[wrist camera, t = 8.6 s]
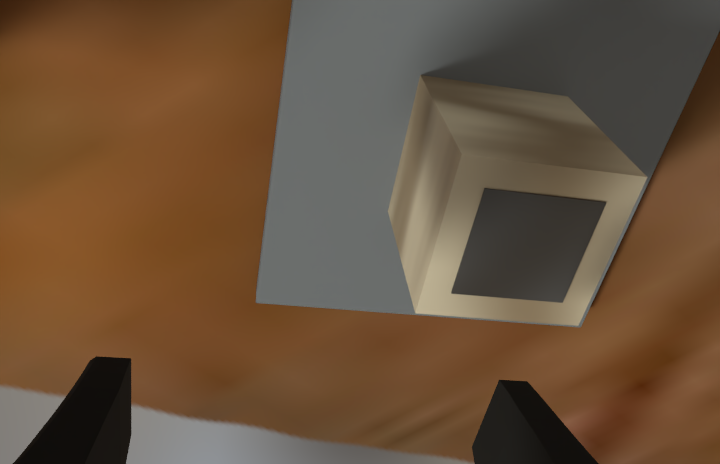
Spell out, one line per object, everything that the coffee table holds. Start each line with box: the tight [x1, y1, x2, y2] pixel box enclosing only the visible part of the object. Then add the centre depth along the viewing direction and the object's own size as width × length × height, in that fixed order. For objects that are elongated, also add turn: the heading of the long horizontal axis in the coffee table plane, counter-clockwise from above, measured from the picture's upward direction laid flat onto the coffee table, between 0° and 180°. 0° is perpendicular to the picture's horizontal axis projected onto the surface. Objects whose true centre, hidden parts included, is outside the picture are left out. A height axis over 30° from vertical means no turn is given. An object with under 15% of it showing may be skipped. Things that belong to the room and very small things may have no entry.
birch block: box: [388, 75, 647, 326], centre depth 18 cm, size 4×4×5 cm
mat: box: [256, 0, 720, 327], centre depth 21 cm, size 12×12×1 cm
